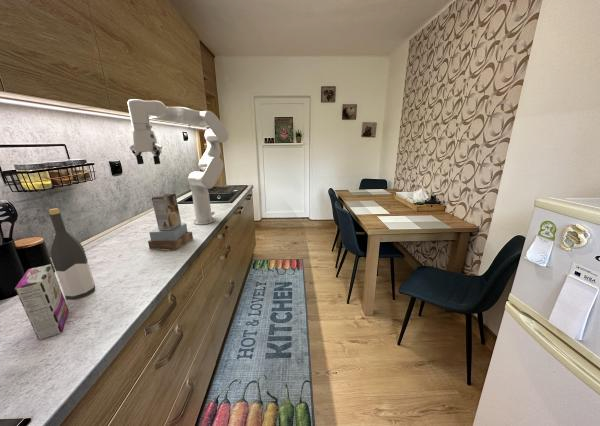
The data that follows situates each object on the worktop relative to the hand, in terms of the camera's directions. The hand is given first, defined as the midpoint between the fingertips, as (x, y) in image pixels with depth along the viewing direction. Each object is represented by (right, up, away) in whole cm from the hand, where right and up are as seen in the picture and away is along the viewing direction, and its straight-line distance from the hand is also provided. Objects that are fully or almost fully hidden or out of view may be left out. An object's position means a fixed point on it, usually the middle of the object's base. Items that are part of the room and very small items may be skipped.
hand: (149, 164), depth 121 cm
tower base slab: (+11, -40, +1) cm, 42 cm away
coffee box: (+12, -32, -2) cm, 34 cm away
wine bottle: (+1, -52, -38) cm, 65 cm away
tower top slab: (+11, -36, 0) cm, 38 cm away
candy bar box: (+6, -57, -53) cm, 77 cm away
